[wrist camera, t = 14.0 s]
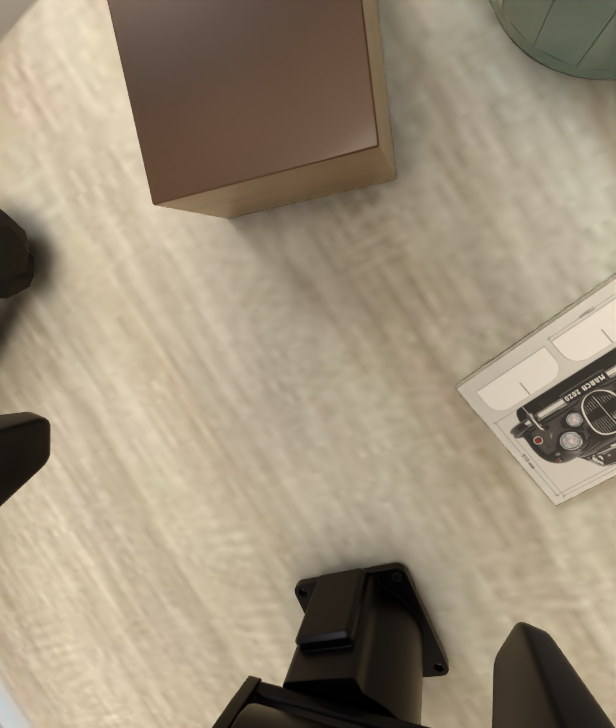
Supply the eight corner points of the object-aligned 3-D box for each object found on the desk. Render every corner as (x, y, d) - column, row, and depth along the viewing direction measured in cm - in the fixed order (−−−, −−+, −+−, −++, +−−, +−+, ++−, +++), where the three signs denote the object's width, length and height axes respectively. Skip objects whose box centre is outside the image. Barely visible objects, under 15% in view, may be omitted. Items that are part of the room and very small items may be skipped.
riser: (397, 179, 17) (379, 146, 12) (226, 219, 20) (152, 205, 15) (372, -46, 16) (339, -193, 10) (190, 28, 18) (92, -61, 13)
